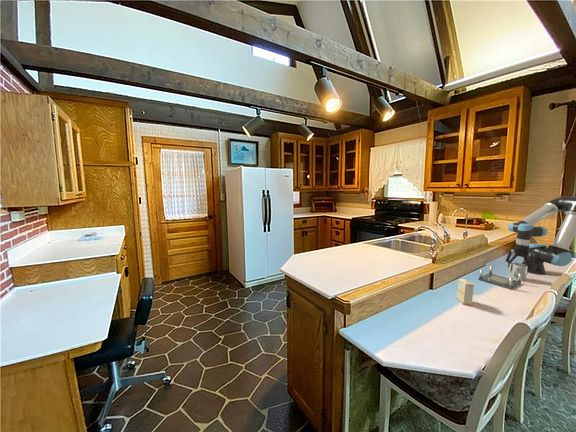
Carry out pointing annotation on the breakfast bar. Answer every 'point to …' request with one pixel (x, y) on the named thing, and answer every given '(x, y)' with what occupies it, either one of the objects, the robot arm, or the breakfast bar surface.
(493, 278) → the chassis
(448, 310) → the breakfast bar surface
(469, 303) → the supplement box
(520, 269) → the mug
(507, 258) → the robot arm
